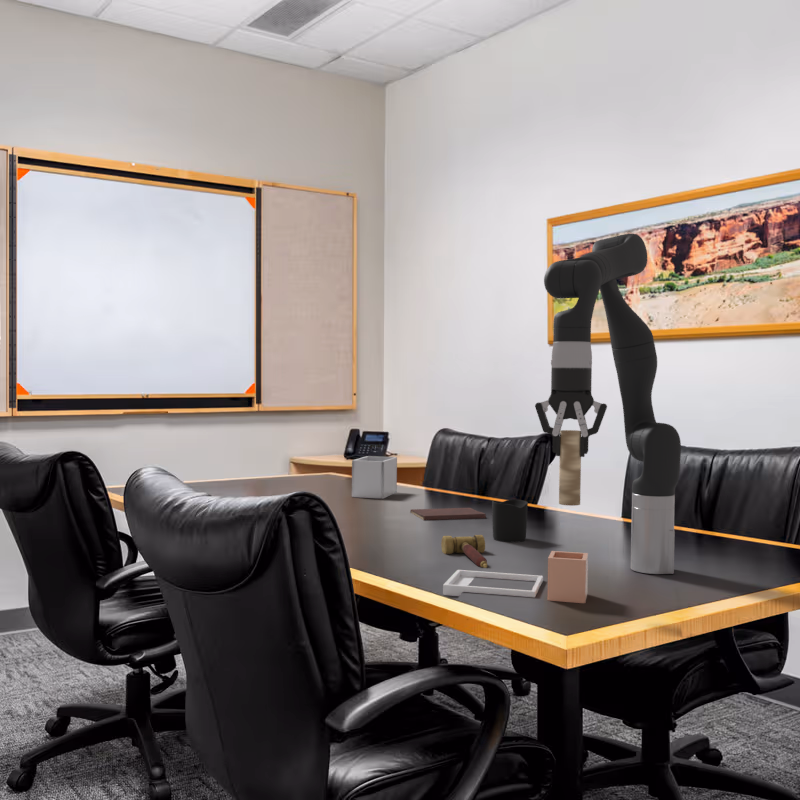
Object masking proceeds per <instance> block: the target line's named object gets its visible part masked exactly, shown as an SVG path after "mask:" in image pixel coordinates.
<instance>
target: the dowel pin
mask: <svg viewBox="0 0 800 800" xmlns="http://www.w3.org/2000/svg"><path fill="white" fill-rule="evenodd" d="M581 437H582V434H581V430H576V429H575V430H574V429H573V430H572V429H565V430H562V429H561V430H560V456H559V468H558V469H559V474H558V475H559V476H558V478H559V479H558V481H559V482H558V485H559V487H558V504H559V505H562V506H570V507H571V506H580V505H581V480H582V479H581V476H582V473H581V472H582V468H581V467H582V457H580V438H581Z"/></svg>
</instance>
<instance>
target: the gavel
mask: <svg viewBox="0 0 800 800" xmlns="http://www.w3.org/2000/svg"><path fill="white" fill-rule="evenodd" d="M485 540H486V539H485V536H484V535H483V534H474V535H473V536H470V535H469V536H454V537H452V535H443V536H442V537H441V543H440V544H441V552H442V553H443V554H444V555H451V554H454V553H455V554H465V556H467V558H468V559H470V560H471V562H473V564H475V566H477V567H479V568H482V569H487V568H488V561H487V558H486V557H484V555H482V554H484V553H485V551H486V541H485ZM481 553H482V554H481Z"/></svg>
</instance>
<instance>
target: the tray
mask: <svg viewBox="0 0 800 800" xmlns="http://www.w3.org/2000/svg"><path fill="white" fill-rule="evenodd" d="M475 578H484V579H485V578H487V579H500V580H512V581H513V580H515V581H527V582H534V585H533V586H532V589H531V590H530V589H529V590H527V589H516V588H515V589H514V588H504V587H490V586H476V585H470V584H471V583H472V581H474V579H475ZM543 582H544V576H543V575H537V574H534V575H533V574H525V573H524V574H522V573H521V574H520V573H510V572H507V573H506V572H496V571H495V572H494V571H482V570H481V571H480V570H464V569H456V570H455V572H454V573H453V574H452V575H451V576H450V577H449V578H448V579H447V580H446V581H445V582H444V583H443V585H442V595H443V596H451V597H452V596H453V597H460V596H461V595H462V594H463V593H464V592H465V593H475V594H476V593H477V594H489V595H501V596H513V597H514V596H515V597H523V598H524V597H527V598H536V596H537V595H538V592H539V590H540V588H541V585H542V584H543Z"/></svg>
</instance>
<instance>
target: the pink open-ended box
mask: <svg viewBox="0 0 800 800" xmlns="http://www.w3.org/2000/svg"><path fill="white" fill-rule="evenodd" d="M588 577H589V552H577V551H575V552H574V551H573V552H572V551H560V550H559V551H557V550H551V551H550V554H549V555H548V557H547V598H546V599H547V600H546V601H550V602H551V601H552V602H561V603H562V602H564V603H565V602H566V603H575V604H576V603H577V604H578V603H579V604H586V602H587V598H588V587H589V586H588V580H589V579H588Z"/></svg>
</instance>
